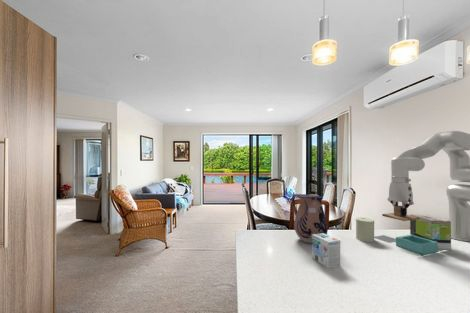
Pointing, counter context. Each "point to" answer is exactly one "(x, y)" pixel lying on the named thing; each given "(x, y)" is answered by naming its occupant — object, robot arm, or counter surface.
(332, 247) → the light bulb box
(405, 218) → the lid
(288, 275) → the counter surface
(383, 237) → the mat
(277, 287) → the counter surface
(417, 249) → the dish
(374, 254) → the counter surface
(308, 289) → the counter surface
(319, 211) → the ceramic pitcher
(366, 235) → the can
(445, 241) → the tea box
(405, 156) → the robot arm
